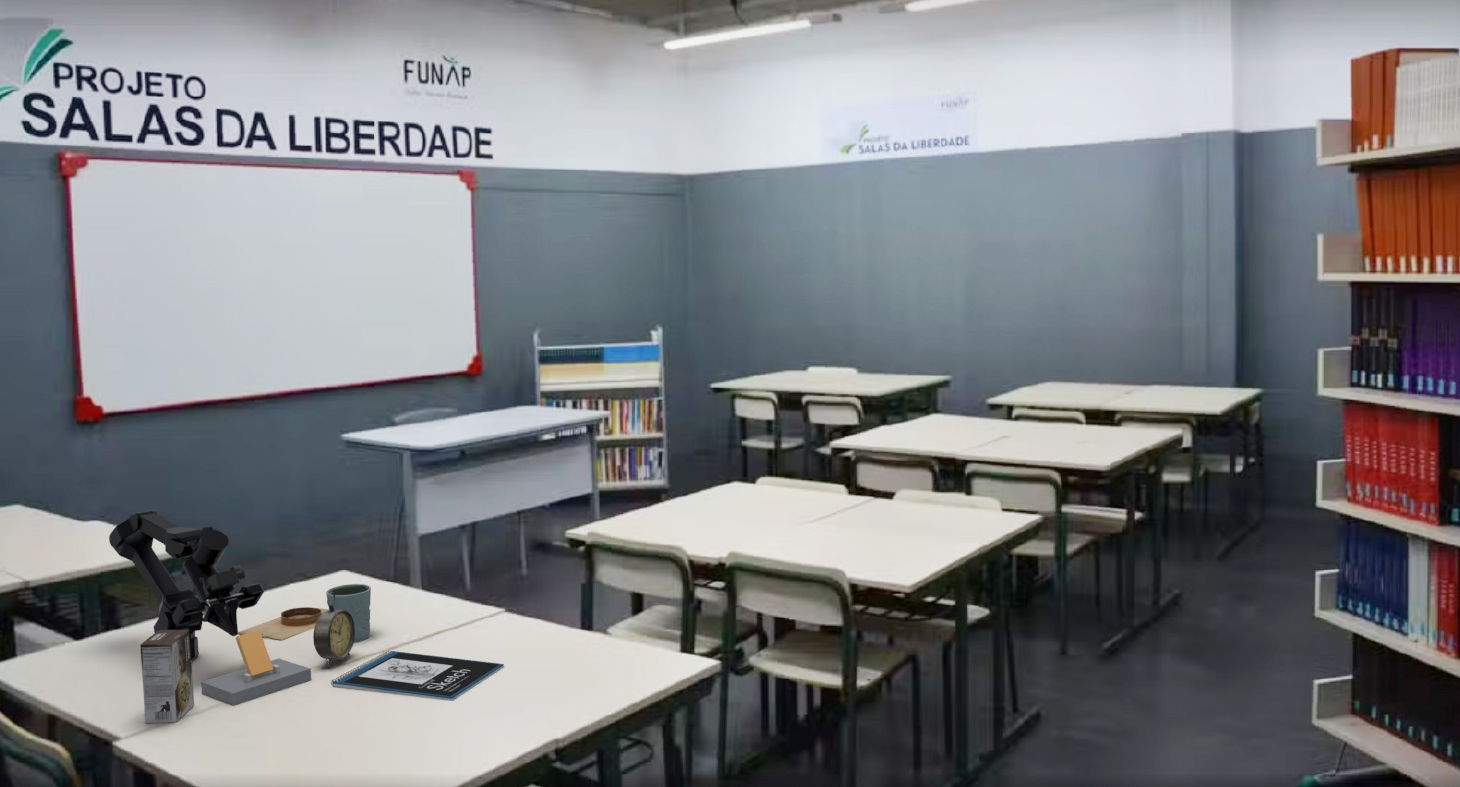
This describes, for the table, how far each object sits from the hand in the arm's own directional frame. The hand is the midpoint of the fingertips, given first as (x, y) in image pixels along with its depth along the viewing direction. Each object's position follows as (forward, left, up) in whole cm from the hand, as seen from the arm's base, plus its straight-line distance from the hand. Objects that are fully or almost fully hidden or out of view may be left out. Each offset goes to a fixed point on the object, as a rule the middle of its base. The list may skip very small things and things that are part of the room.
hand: (235, 634), depth 247 cm
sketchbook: (+39, -4, -11) cm, 40 cm away
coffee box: (-8, -19, -10) cm, 23 cm away
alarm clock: (+18, +9, -10) cm, 23 cm away
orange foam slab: (+7, -6, -7) cm, 12 cm away
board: (+3, +41, -11) cm, 43 cm away
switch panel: (+5, -5, -10) cm, 12 cm away
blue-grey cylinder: (+19, +27, -10) cm, 34 cm away
